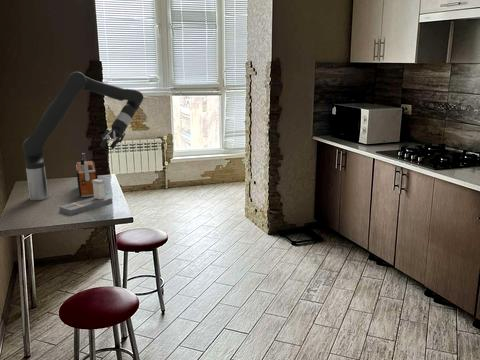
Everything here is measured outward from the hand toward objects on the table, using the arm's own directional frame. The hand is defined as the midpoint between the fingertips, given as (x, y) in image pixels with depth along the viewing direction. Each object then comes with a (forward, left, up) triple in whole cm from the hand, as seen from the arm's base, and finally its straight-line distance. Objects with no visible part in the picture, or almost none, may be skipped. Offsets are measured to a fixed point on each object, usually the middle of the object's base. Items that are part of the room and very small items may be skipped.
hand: (106, 147), depth 241 cm
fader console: (-15, -12, -28) cm, 33 cm away
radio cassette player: (-9, +18, -28) cm, 35 cm away
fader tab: (-7, -8, -25) cm, 27 cm away
